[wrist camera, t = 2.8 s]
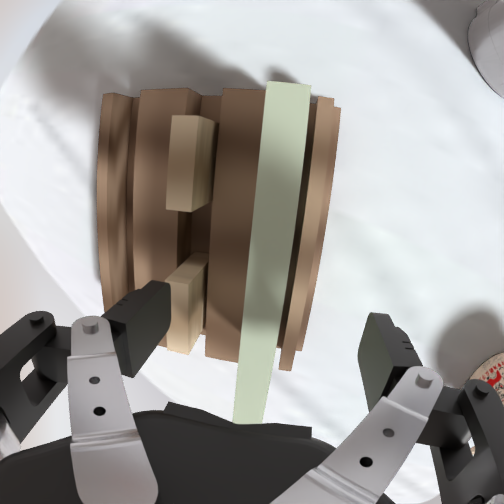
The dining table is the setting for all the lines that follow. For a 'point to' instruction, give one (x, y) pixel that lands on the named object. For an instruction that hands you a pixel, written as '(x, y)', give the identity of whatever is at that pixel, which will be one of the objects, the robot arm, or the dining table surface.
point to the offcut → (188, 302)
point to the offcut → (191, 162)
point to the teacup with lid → (492, 376)
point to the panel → (270, 242)
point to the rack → (206, 207)
